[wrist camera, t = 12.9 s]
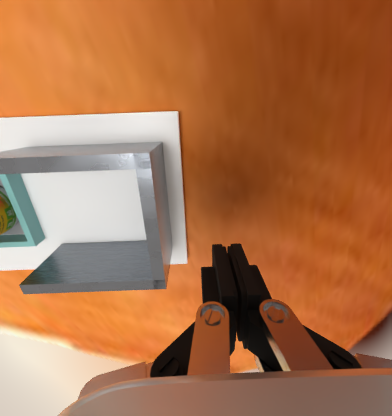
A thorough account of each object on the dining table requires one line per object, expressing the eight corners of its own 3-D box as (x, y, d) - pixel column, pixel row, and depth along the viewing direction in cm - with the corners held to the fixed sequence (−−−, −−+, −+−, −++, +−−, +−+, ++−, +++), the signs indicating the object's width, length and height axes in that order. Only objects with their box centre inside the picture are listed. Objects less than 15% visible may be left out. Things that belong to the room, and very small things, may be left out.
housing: (162, 141, 18) (149, 152, 13) (172, 247, 23) (166, 288, 17) (27, 146, 18) (-45, 159, 13) (64, 251, 23) (23, 293, 17)
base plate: (178, 111, 18) (176, 110, 16) (187, 257, 25) (187, 272, 22) (-89, 121, 18) (-133, 122, 16) (-10, 264, 25) (-32, 280, 22)
